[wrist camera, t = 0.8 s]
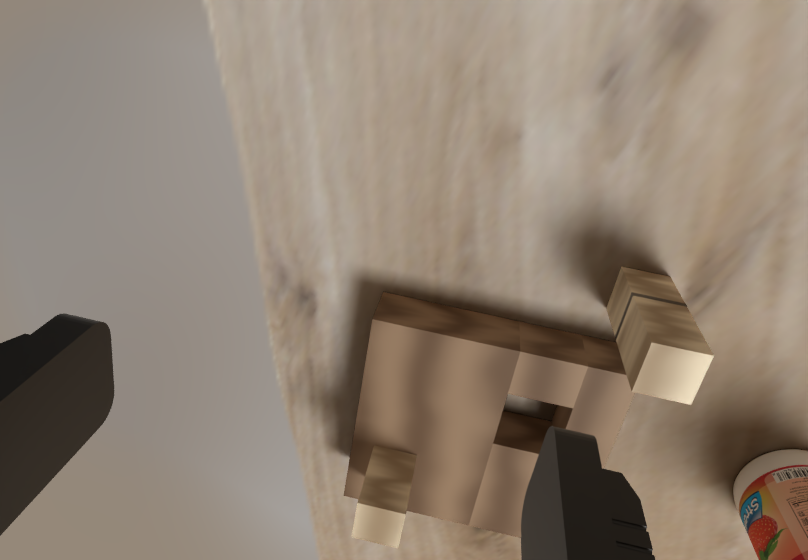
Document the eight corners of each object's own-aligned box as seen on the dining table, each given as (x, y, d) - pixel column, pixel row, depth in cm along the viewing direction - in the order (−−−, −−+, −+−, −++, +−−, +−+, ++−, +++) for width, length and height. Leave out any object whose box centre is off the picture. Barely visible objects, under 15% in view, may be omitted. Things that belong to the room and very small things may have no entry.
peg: (670, 276, 51) (714, 355, 40) (653, 318, 52) (691, 405, 42) (621, 266, 51) (651, 342, 40) (606, 308, 53) (631, 391, 42)
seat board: (630, 345, 54) (660, 435, 43) (565, 509, 63) (577, 617, 52) (383, 291, 55) (353, 366, 44) (355, 459, 64) (324, 555, 53)
